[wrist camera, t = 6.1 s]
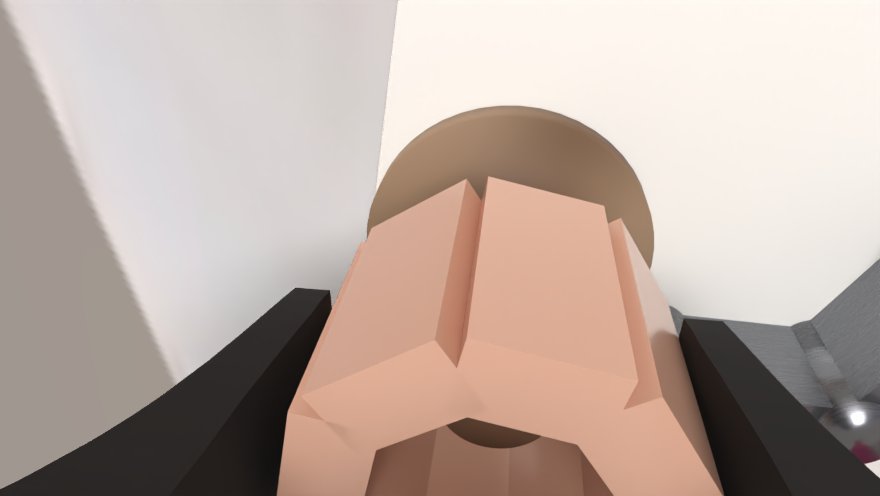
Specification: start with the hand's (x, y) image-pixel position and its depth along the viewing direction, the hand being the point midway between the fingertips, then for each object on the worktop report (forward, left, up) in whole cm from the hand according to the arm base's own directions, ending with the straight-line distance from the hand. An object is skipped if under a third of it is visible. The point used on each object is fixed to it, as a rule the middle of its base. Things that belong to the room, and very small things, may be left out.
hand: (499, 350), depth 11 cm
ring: (0, 0, -1) cm, 1 cm away
